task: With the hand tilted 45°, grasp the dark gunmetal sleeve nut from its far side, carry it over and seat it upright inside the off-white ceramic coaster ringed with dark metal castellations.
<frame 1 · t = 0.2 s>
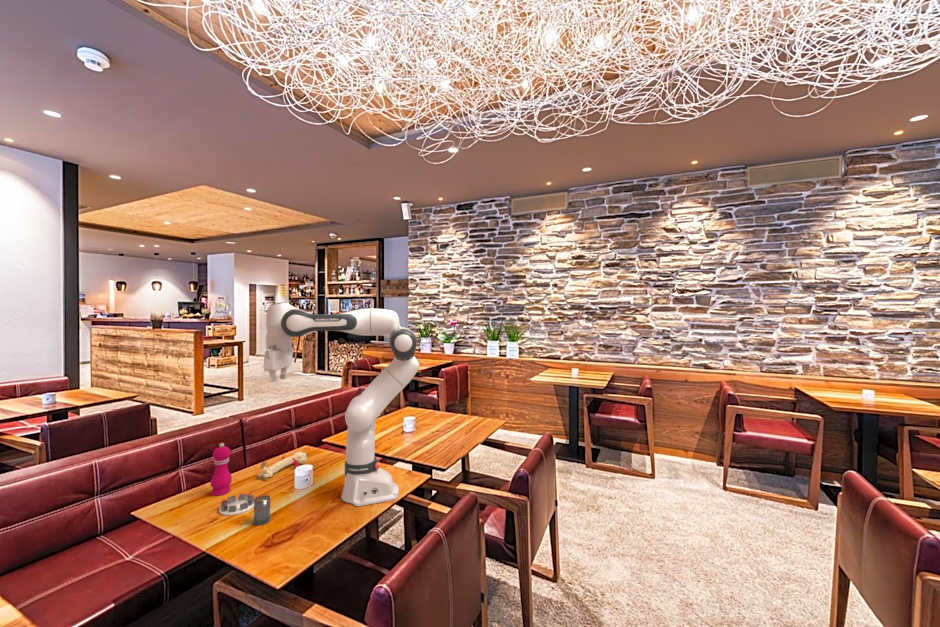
hand: (278, 380, 148), 47 cm above the table, tool pointing down, fingers open, 8 cm apart
castellated coaster: (237, 507, 144), on the table
sleeve nut: (261, 521, 134), on the table
cream dog bone: (285, 470, 178), on the table
pepper mill: (221, 492, 155), on the table
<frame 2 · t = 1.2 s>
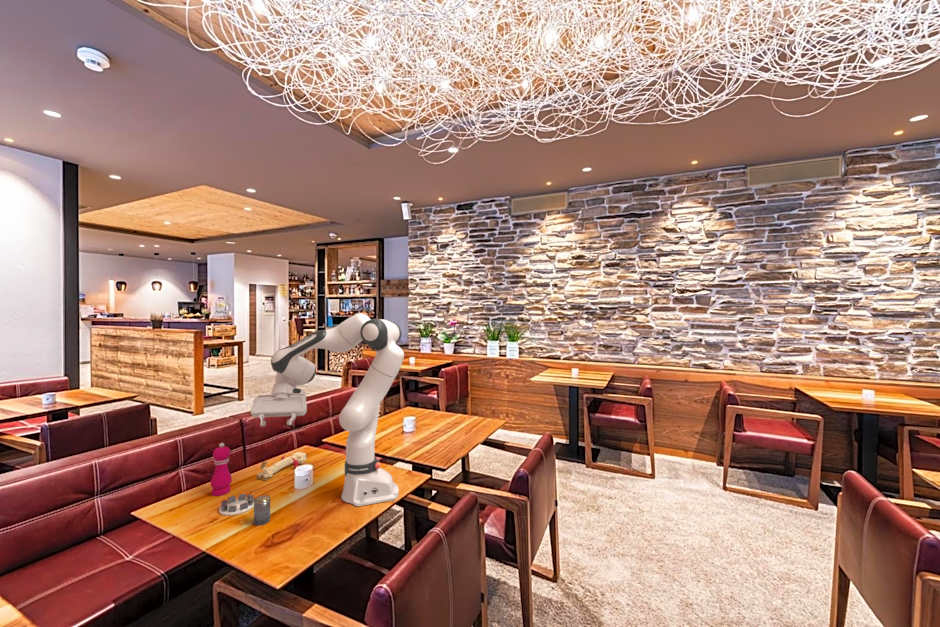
hand: (275, 425, 149), 29 cm above the table, tool tilted 45°, fingers open, 8 cm apart
nothing on the table moved.
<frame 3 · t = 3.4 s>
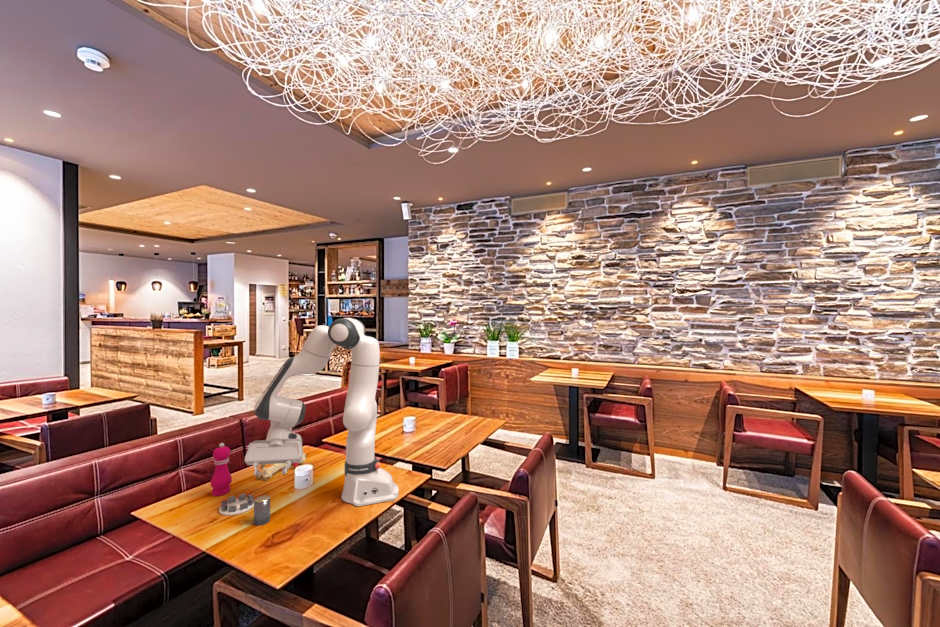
hand: (270, 474, 143), 13 cm above the table, tool tilted 45°, fingers open, 8 cm apart
nothing on the table moved.
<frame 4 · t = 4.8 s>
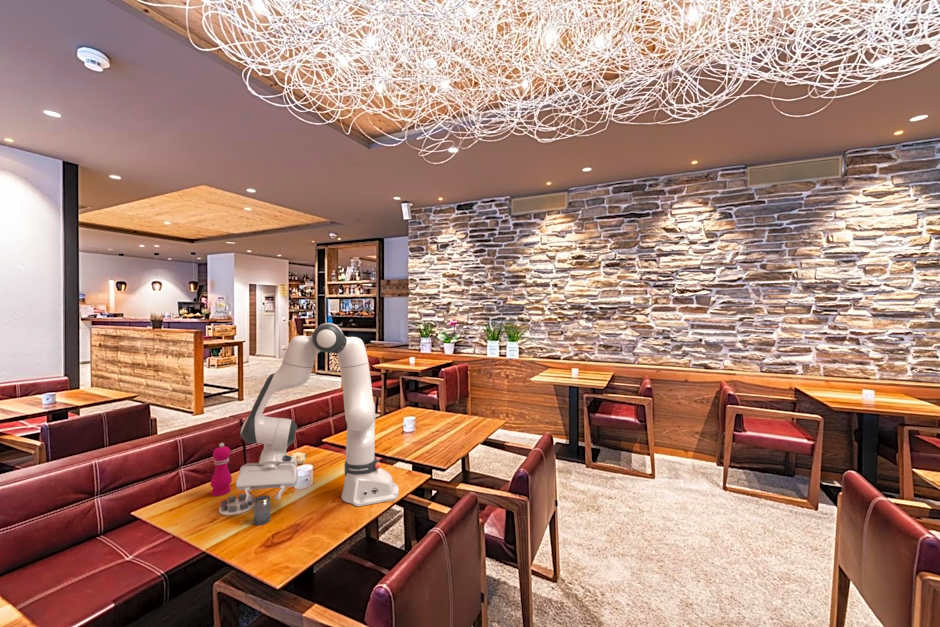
hand: (262, 500, 136), 7 cm above the table, tool tilted 45°, fingers open, 8 cm apart
nothing on the table moved.
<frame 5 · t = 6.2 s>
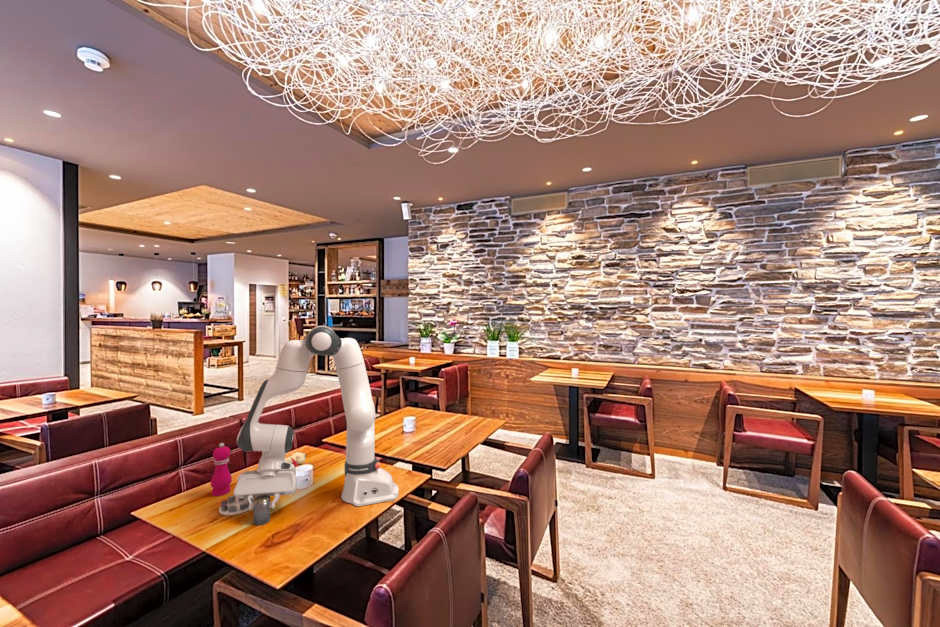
hand: (261, 508, 134), 5 cm above the table, tool tilted 45°, fingers closed on sleeve nut, 5 cm apart
sleeve nut: (261, 521, 134), on the table, touching gripper
everything else where it was.
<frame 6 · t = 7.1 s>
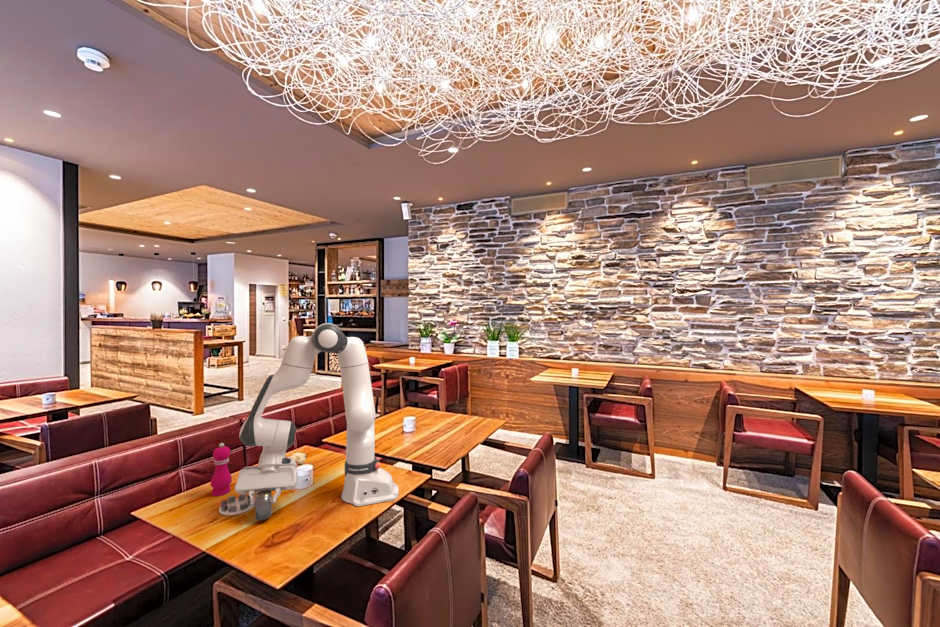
hand: (262, 503, 134), 6 cm above the table, tool tilted 45°, fingers closed on sleeve nut, 5 cm apart
sleeve nut: (263, 516, 134), point 2 cm above the table, touching gripper
everything else where it was.
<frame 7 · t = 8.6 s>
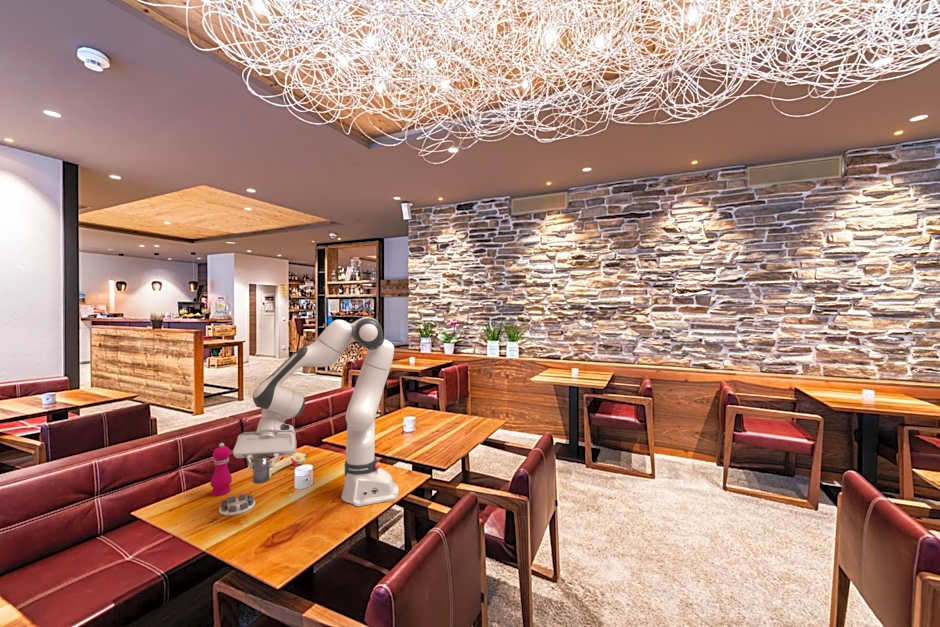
hand: (260, 467, 134), 19 cm above the table, tool tilted 45°, fingers closed on sleeve nut, 5 cm apart
sleeve nut: (261, 480, 134), point 14 cm above the table, touching gripper
everything else where it was.
when the fingers open (7 cm above the table, at t = 12.6 s): sleeve nut drops 1 cm, resting on castellated coaster.
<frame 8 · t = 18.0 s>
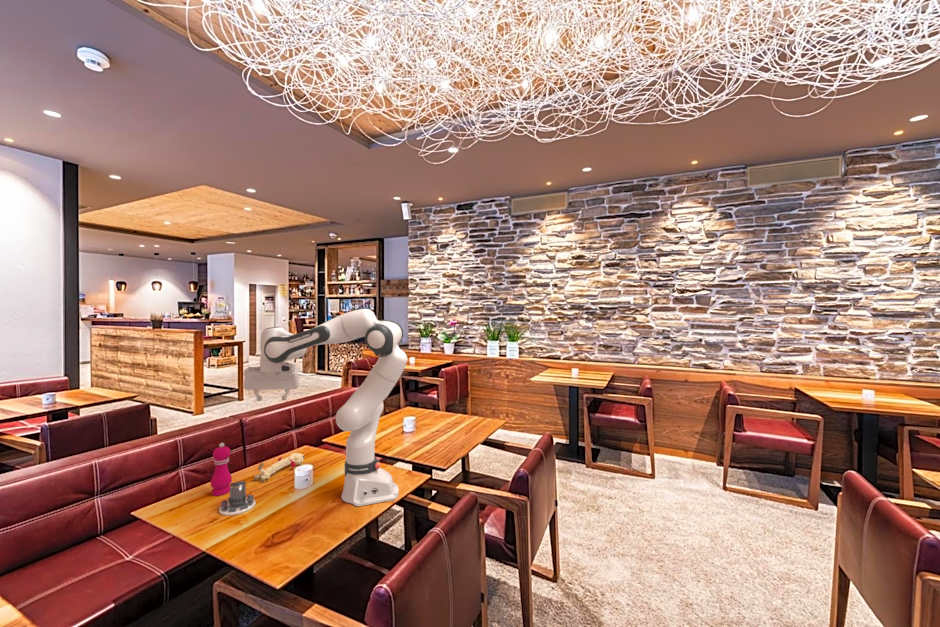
hand: (271, 400, 157), 37 cm above the table, tool pointing down, fingers open, 8 cm apart
sleeve nut: (237, 505, 144), point 1 cm above the table, touching castellated coaster
at the end: sleeve nut 0.1 cm off-centre on the castellated coaster, point 0.8 cm above the castellated coaster's base; sleeve nut tilted 0°; the gripper is holding nothing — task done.
